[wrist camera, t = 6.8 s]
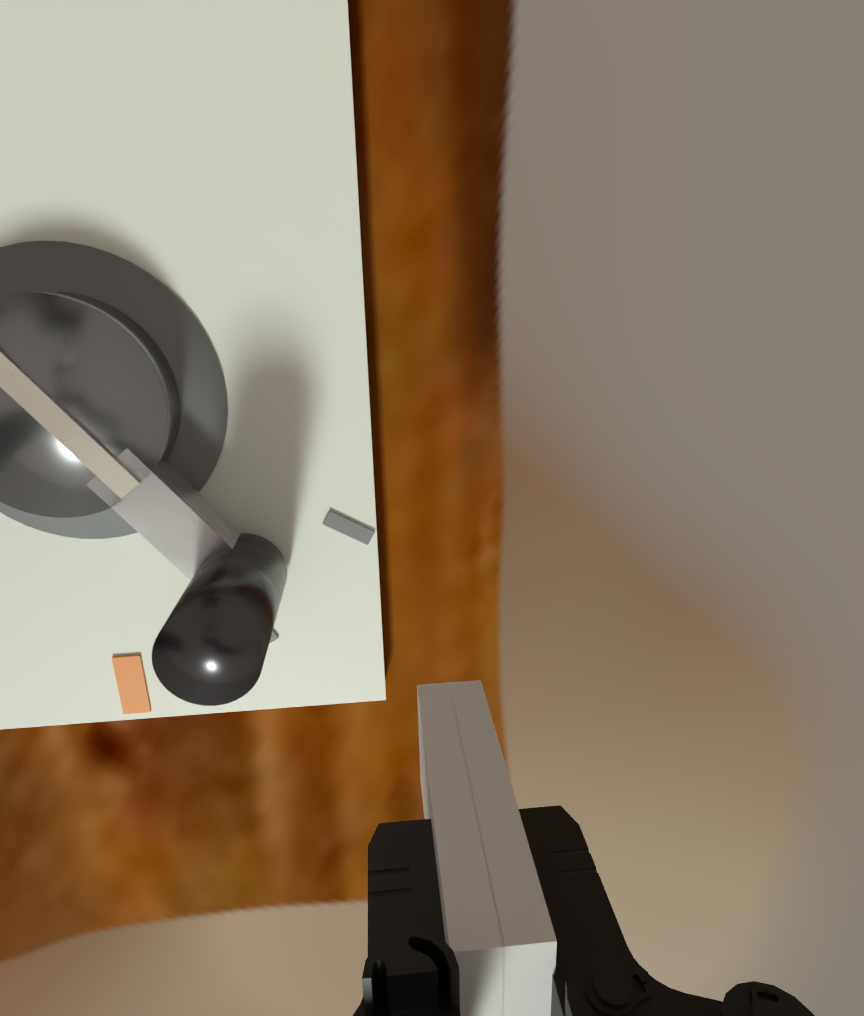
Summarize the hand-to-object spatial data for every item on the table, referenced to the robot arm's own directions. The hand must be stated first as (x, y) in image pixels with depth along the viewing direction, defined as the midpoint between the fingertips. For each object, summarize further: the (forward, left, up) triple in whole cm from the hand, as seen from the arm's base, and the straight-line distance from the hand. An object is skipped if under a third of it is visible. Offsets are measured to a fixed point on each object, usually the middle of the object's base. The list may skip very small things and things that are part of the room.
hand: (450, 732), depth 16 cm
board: (-7, -10, -8) cm, 15 cm away
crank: (-5, -8, -7) cm, 12 cm away
